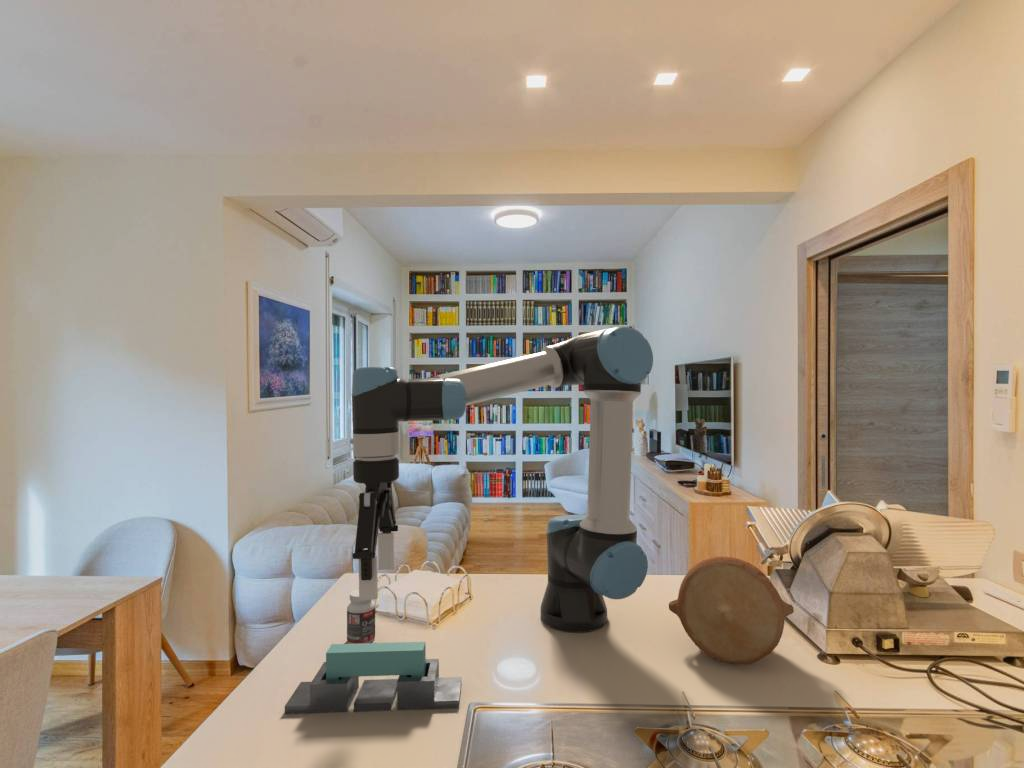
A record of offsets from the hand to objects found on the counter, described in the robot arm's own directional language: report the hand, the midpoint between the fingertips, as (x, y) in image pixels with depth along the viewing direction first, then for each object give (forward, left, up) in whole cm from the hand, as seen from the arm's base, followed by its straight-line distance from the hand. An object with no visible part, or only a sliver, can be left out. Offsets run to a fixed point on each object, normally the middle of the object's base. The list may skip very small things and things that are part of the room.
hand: (378, 583), depth 87 cm
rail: (0, 0, -19) cm, 19 cm away
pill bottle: (+8, -21, -20) cm, 30 cm away
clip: (0, 0, -18) cm, 18 cm away
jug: (-68, -16, -20) cm, 73 cm away
